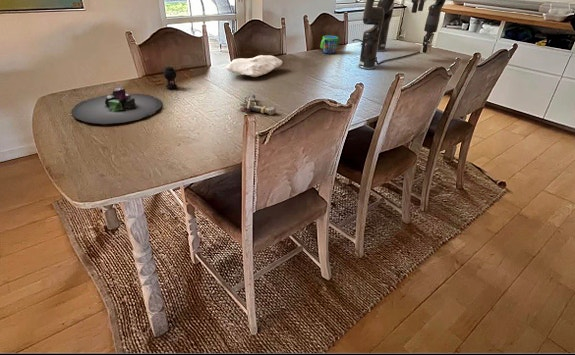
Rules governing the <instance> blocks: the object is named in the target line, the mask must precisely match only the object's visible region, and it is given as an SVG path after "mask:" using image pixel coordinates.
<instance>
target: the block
mask: <svg viewBox="0 0 575 355" xmlns="http://www.w3.org/2000/svg"><path fill="white" fill-rule="evenodd" d="M425 44H426V43H425ZM432 48H433V44H432V43H431V44H428V46H427V50H426V52H425V53H424V52H422V51H423V43H422V44H421V47H420V53H421V54H430V53H431V52H432Z"/></svg>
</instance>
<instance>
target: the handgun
mask: <svg viewBox="0 0 575 355" xmlns="http://www.w3.org/2000/svg"><path fill="white" fill-rule="evenodd" d="M239 106H240V108H239V109H240V111H243V112H244V113H250V112H256V113H261V114H264V113H266V114H268V115H270V116H272V115H275V113H276V111H277V108H276V107H275V106H271V107H268V106H267V105H257V102H256V94H253V93H246V94H245V95H244V103H240V105H239Z"/></svg>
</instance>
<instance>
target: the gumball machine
mask: <svg viewBox="0 0 575 355" xmlns="http://www.w3.org/2000/svg"><path fill="white" fill-rule="evenodd" d="M176 69H177V67H176V66H174V67H173V66H166V67H165V68H164V67H162V68H161V70H162V71H163V76H162V78H165V79H166V80H167V81H166V84H165V86H164V87H165V88H167V89H168V90H174V89H176V88H177V89H179V85H178V84H176V83H177V82H178V78H177V71H176Z"/></svg>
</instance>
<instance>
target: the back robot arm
mask: <svg viewBox="0 0 575 355" xmlns="http://www.w3.org/2000/svg"><path fill="white" fill-rule="evenodd" d="M394 1H395V0H378V2H377V5H376V7H382V8H383V9H384V18H383V23H382V28H381V33H380V36H379V42H378V49H377V52H386V47H387V40H388V35H389V29H390V23H391V21H392V17H393V12H394V8H395V7H394V6H395V3H394ZM446 1H447V0H435V2H434V3H433V4H431V5H430V6H429V9H428V12H427V17H426V20H425V24H424V29H423V31H424V32H425V35H423V39H422V44H423V51H422V52H424V53H423V54H426V53H425V52H426V50H427V46H428V44H432V43H433V40H434V37H435V33H437V32H438V27H439V23H440V20H441V19H440V18H441V13H442V9H443V7H444V5H445V3H446ZM354 41H358V42H361V43H360V46H362V41H363V39H359V38H354V39H352V40H351V42H354ZM425 43H426V44H425Z"/></svg>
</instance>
